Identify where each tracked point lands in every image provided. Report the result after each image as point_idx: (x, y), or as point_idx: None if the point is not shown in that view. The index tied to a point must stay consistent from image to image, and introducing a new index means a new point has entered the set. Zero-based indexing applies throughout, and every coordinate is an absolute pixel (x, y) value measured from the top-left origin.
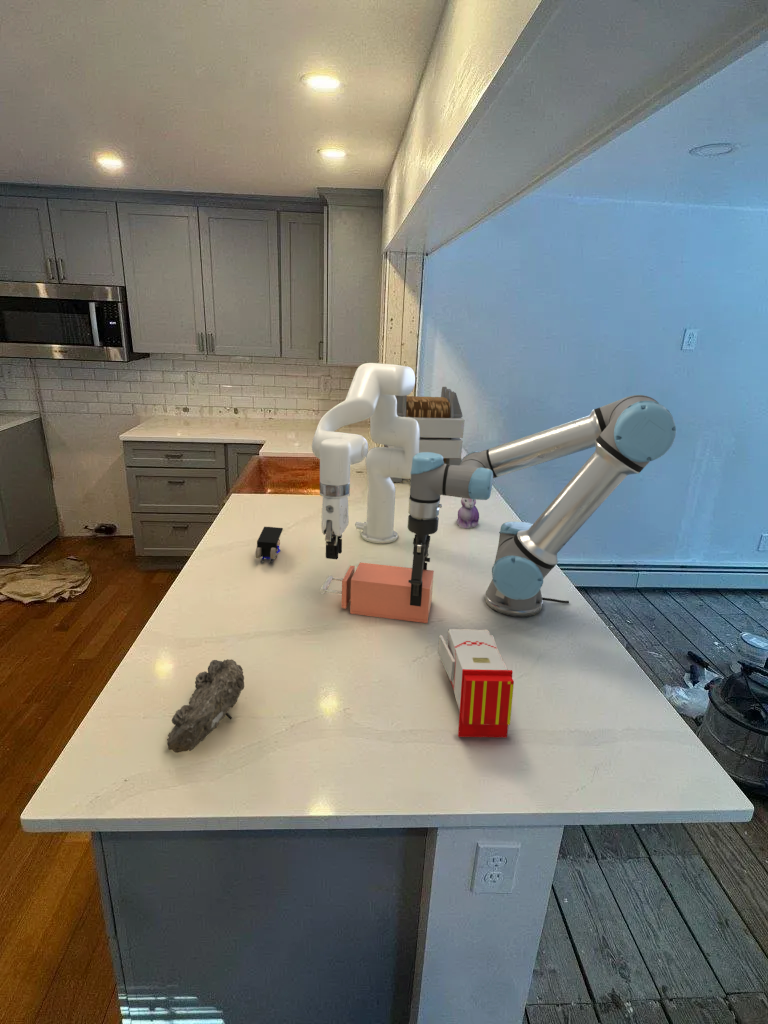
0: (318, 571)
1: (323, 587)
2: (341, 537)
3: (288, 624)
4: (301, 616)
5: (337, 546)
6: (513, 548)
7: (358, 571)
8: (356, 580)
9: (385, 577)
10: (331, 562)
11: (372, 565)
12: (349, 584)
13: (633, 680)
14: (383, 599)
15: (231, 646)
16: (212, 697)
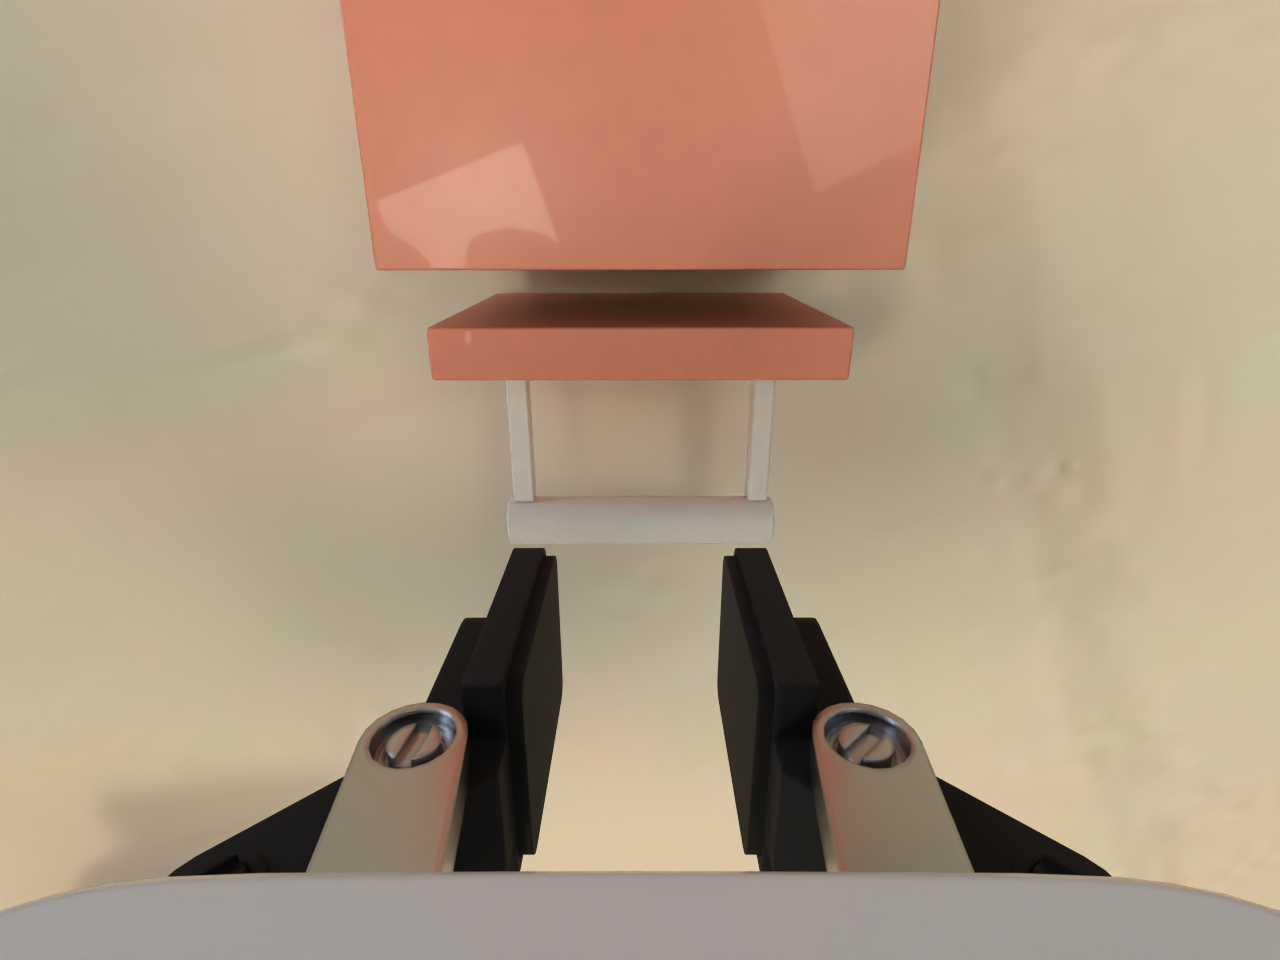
0: (244, 627)
1: (749, 528)
2: (407, 716)
3: (987, 602)
4: (884, 560)
5: (810, 676)
6: None
7: (654, 225)
8: (914, 192)
9: None
10: (57, 582)
11: (407, 59)
12: (685, 312)
13: None
14: None
15: (1218, 783)
16: None
